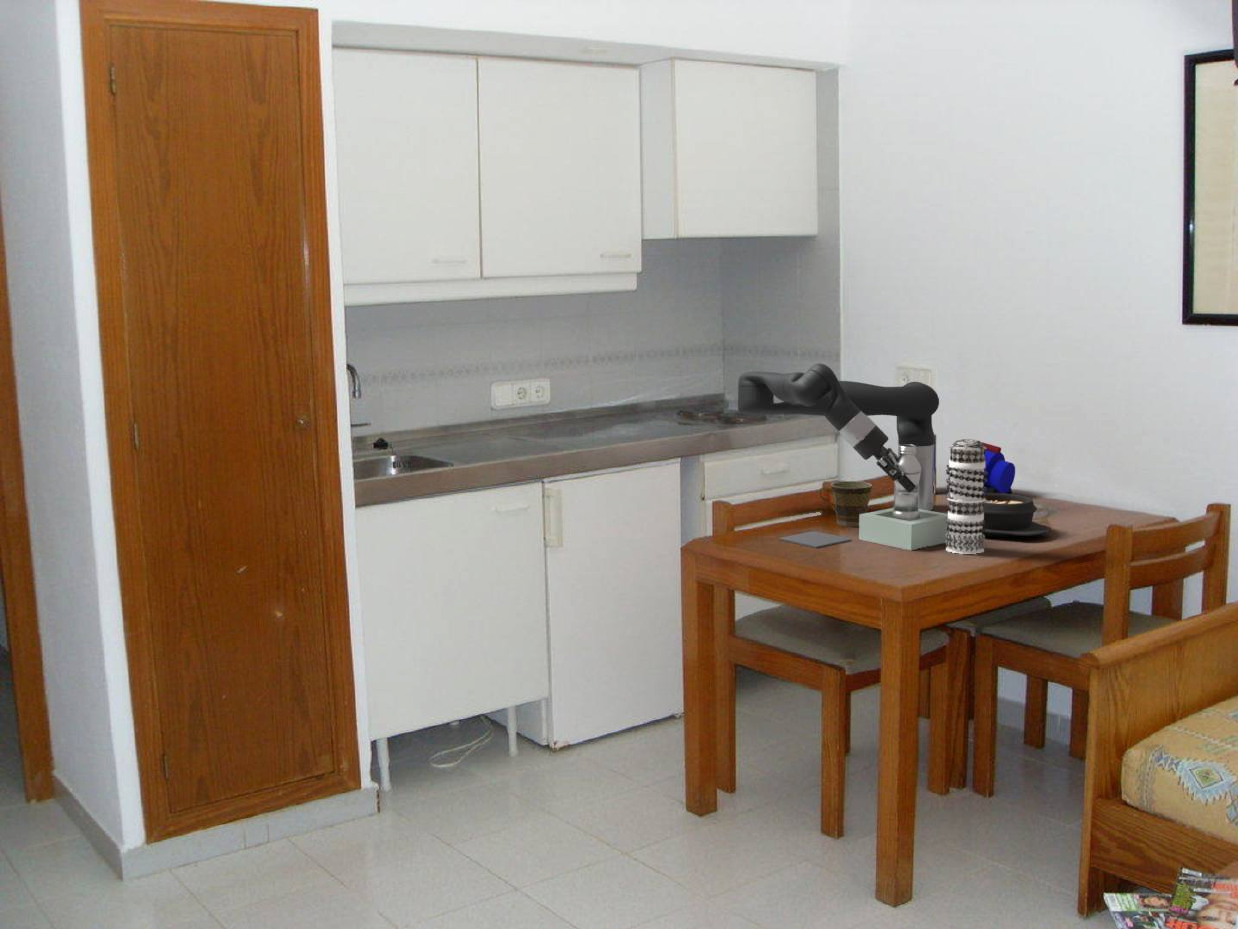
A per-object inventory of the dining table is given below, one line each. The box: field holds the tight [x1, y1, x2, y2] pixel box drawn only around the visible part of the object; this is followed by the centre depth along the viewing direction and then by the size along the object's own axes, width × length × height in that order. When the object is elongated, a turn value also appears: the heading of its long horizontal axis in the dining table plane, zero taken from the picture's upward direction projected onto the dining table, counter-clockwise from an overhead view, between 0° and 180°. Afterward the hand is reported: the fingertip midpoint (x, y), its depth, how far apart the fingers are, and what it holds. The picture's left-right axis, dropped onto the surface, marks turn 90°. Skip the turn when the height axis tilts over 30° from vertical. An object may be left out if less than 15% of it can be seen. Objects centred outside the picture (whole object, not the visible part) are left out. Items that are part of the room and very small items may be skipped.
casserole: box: [982, 493, 1052, 538], centre depth 310 cm, size 25×19×8 cm
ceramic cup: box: [818, 480, 873, 528], centre depth 322 cm, size 13×10×10 cm
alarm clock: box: [981, 441, 1016, 494], centre depth 357 cm, size 12×12×15 cm
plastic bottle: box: [892, 445, 921, 521], centre depth 302 cm, size 6×7×20 cm
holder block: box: [858, 507, 949, 551], centre depth 304 cm, size 16×16×6 cm
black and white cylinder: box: [945, 438, 988, 555], centre depth 291 cm, size 9×9×25 cm
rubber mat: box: [778, 530, 853, 549], centre depth 305 cm, size 12×12×1 cm
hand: (913, 487), depth 302 cm, fingers closed on plastic bottle, 6 cm apart
